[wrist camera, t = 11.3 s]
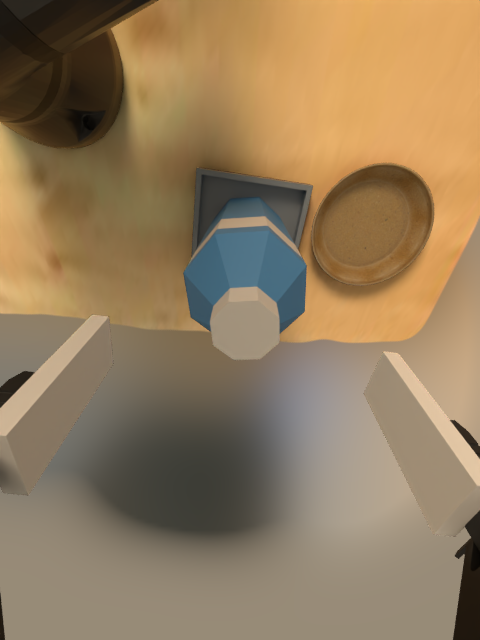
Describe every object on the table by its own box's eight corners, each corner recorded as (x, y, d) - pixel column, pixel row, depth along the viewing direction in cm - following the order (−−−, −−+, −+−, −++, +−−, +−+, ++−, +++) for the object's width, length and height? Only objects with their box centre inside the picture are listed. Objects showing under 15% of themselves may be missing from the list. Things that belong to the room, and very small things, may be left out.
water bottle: (293, 249, 39) (350, 363, 17) (231, 278, 41) (212, 411, 20) (264, 180, 35) (292, 215, 13) (197, 215, 37) (128, 296, 16)
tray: (192, 273, 42) (190, 279, 40) (199, 167, 35) (196, 168, 33) (286, 286, 42) (288, 292, 41) (309, 184, 36) (313, 185, 34)
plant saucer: (395, 133, 33) (406, 131, 31) (440, 237, 39) (452, 241, 37) (286, 214, 38) (289, 218, 36) (340, 297, 44) (345, 305, 41)
